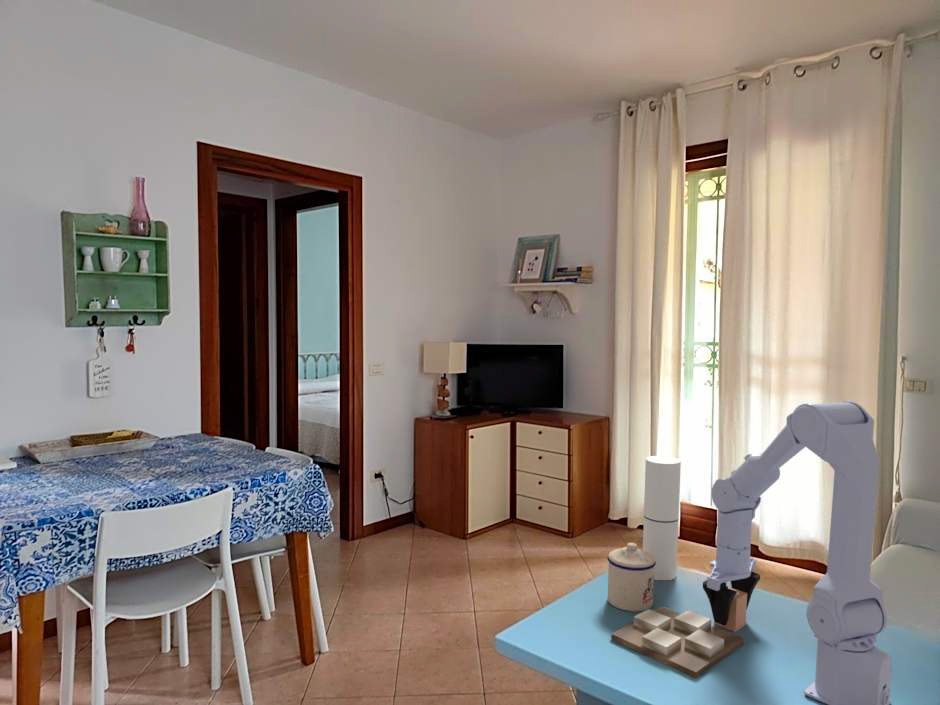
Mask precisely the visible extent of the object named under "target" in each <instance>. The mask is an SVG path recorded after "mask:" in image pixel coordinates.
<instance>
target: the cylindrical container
mask: <svg viewBox="0 0 940 705" xmlns="http://www.w3.org/2000/svg"><path fill="white" fill-rule="evenodd" d="M681 461H682V460H681V459H680V458H677V457H674V456H668V455H667V456H666V455H651V456H647V457H645V472H644V474H645V475H644V498H643V499H644V503H643V528H642V529H643V530H642V532H643V533H642V551H645V552H647V553H649V554H651V555H652V556H653V557H654V559H655V562H656V564H655V566H654V579H655V580H654V581H659V580H669V581H672V579H673V580H675V579H676V578H677V574H678V573H677V572H678V546H679V545H678V543H679V538H678V537H679V523H680V522H679V520H680V514H679V513H680V490H681V467H682V466H681V464H682V462H681Z"/></svg>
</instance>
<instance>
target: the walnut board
mask: <svg viewBox="0 0 940 705" xmlns="http://www.w3.org/2000/svg"><path fill="white" fill-rule="evenodd" d="M610 639H611V640H612V641H614V642H616V643H618V644H621V645H623V646H625V647H626V648H630V649H631V650H633V651H635V652H638V653H640V654H642V655H644V656H646V657H649V658H650V659H653V660H655V661H657V662H659V663H661V664H663V665H666V666H668V667H670V668H672V669H674V670H677V671H679V672H681V673H683V674H686V675H687V676H690V677H692V678H694V679H697V678H699V677H700V676H702V675H703V674H704V673H706V672H707V671H708V670H710V669H711V668H712V667H714V666H716V665H717V664H718V663H719V662H721V661H722V660H723V659H725V658H727V656H729V655H731V654H733V653H734V652H735V651H736V650H737V649H739V648H740V647H742V646H743V645H744V644H745V638H744V637H741V636H739V635H737V634H734V633H732V632H729V631H727V630H723V629H721V628H719V627H716V626H713V625H712V619H711V618H709V617H706V616H704V615H701V614H698V613H696V612H693V611H691V610H686V611H683V613H681V612H678V611H675V610H672V609H670V608H667V607H665V606H663V605H662V606H660V607H658V608H656V609H654V610H652V609H651V608H649V609H647V610H644V611H641V612H640V613H637V614H636V615H635V616H634V617H633V621H632V622H630V623H628V624H627V625H625V626H624V627H621V628H619V629H618V630H616V631H614V632H612V633H611V638H610Z"/></svg>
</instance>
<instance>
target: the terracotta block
mask: <svg viewBox="0 0 940 705" xmlns="http://www.w3.org/2000/svg"><path fill="white" fill-rule="evenodd" d="M728 589H731V590H734V591H737V593H736V595H735V596H734V598H733V600H732V603H731V607H730V612H729V618H728V622H727V625H725V626H724V625H721V624H719V623H716V622H714V621H713V622H714V624H713V625H716V626H718V625H719V627H722V628H724V629H727V630H729V631H731V630H732V632H734V633H736V632H737V630H738V631H740V629H742V628H743V627H745V626H747V625H746V624H747V610H746V608H747V593H745V592H742V591H739V590H736V589H733V588H732V587H729V586H728ZM747 609H748V608H747ZM744 625H745V626H744Z"/></svg>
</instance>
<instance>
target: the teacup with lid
mask: <svg viewBox="0 0 940 705" xmlns="http://www.w3.org/2000/svg"><path fill="white" fill-rule="evenodd" d="M608 553H609V554H608V556H607V562H608V571H607V572H608V574H607V575H608V576H607V578H608V579H607V600H608V603H610V604H611V605H612V606H613V607H615V608H617V609H619V610H622V611H626V612H644V611H646V610H648V609H651V607H652V606H653V605H654V588H655V587H654V585H655V580H654V566H655V564H656V562H655V559H654V557H653V556H652V555H651V554H649V553H647V552H645V551H643V549H640V548H638V545H637V544H636V543H635V542H628V543H627V544H626V546H624V547H622V548H617V549H616V548H615V549H613V550H611V551H610V552H608ZM652 608H653V607H652Z"/></svg>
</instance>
